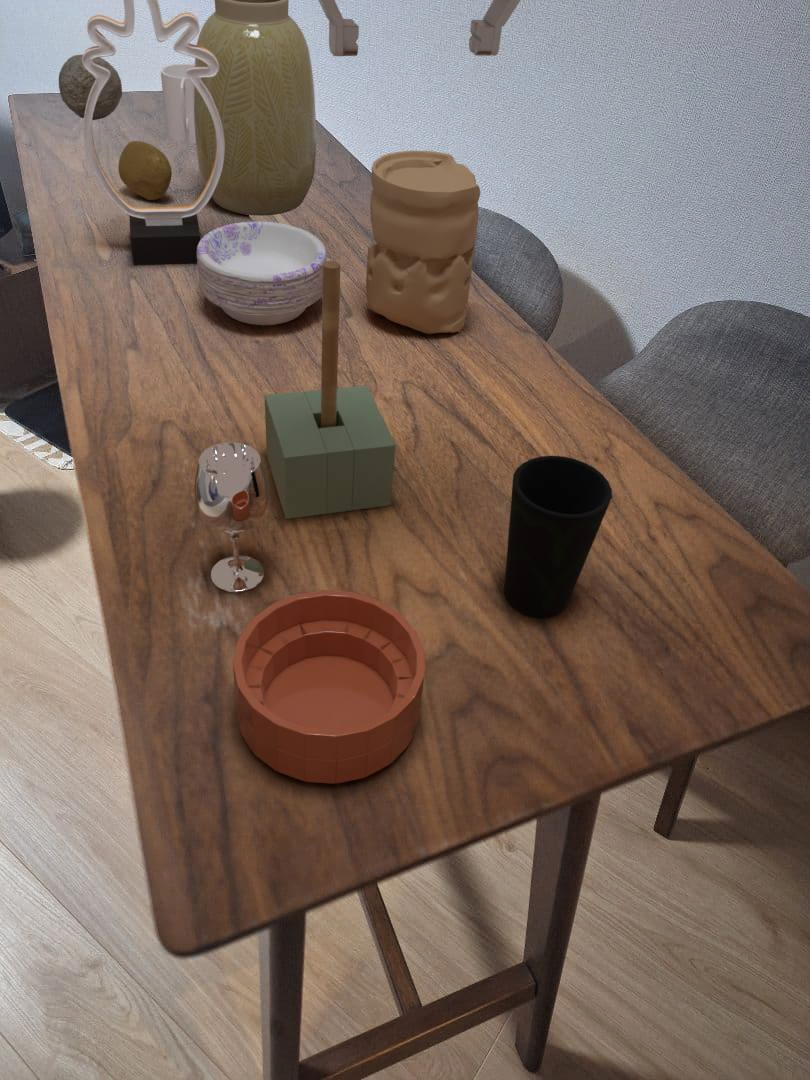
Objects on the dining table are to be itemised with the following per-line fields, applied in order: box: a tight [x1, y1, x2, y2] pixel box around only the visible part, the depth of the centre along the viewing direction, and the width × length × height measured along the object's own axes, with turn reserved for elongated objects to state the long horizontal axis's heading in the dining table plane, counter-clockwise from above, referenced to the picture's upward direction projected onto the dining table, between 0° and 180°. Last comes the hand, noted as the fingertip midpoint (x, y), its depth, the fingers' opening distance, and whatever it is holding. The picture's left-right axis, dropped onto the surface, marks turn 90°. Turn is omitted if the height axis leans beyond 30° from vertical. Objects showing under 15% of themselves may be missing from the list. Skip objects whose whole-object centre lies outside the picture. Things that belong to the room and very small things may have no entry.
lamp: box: [82, 0, 225, 266], centre depth 112 cm, size 17×9×32 cm, turn 103°
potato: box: [117, 140, 173, 201], centre depth 132 cm, size 7×8×8 cm
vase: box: [193, 0, 317, 217], centre depth 129 cm, size 17×17×27 cm
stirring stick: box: [320, 260, 342, 428], centre depth 81 cm, size 1×1×22 cm
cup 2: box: [503, 455, 613, 619], centre depth 74 cm, size 8×8×12 cm
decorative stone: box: [58, 54, 123, 121], centre depth 155 cm, size 10×8×10 cm
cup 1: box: [160, 63, 196, 144], centre depth 152 cm, size 8×12×10 cm
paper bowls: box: [196, 221, 328, 326], centre depth 110 cm, size 15×15×8 cm
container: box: [365, 150, 481, 335], centre depth 108 cm, size 13×13×18 cm
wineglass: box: [193, 441, 270, 593], centre depth 73 cm, size 6×6×12 cm
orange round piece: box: [232, 589, 426, 784], centre depth 65 cm, size 13×13×6 cm
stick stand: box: [264, 385, 397, 520], centre depth 86 cm, size 10×10×7 cm
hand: (414, 53), depth 59 cm, fingers open, 8 cm apart
